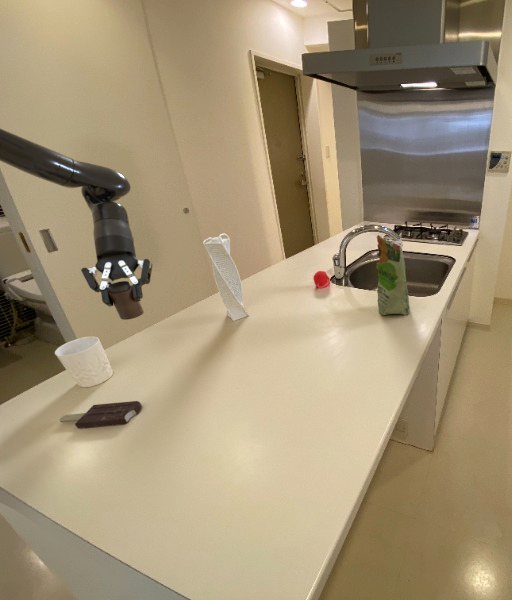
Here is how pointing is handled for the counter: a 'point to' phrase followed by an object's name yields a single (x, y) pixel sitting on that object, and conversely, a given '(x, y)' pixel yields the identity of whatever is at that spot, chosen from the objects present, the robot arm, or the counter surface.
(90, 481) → the counter surface
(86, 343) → the white cup
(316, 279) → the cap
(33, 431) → the counter surface
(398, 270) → the pouch
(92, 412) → the ice cream bar
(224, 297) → the skyscraper
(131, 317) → the pepper mill
